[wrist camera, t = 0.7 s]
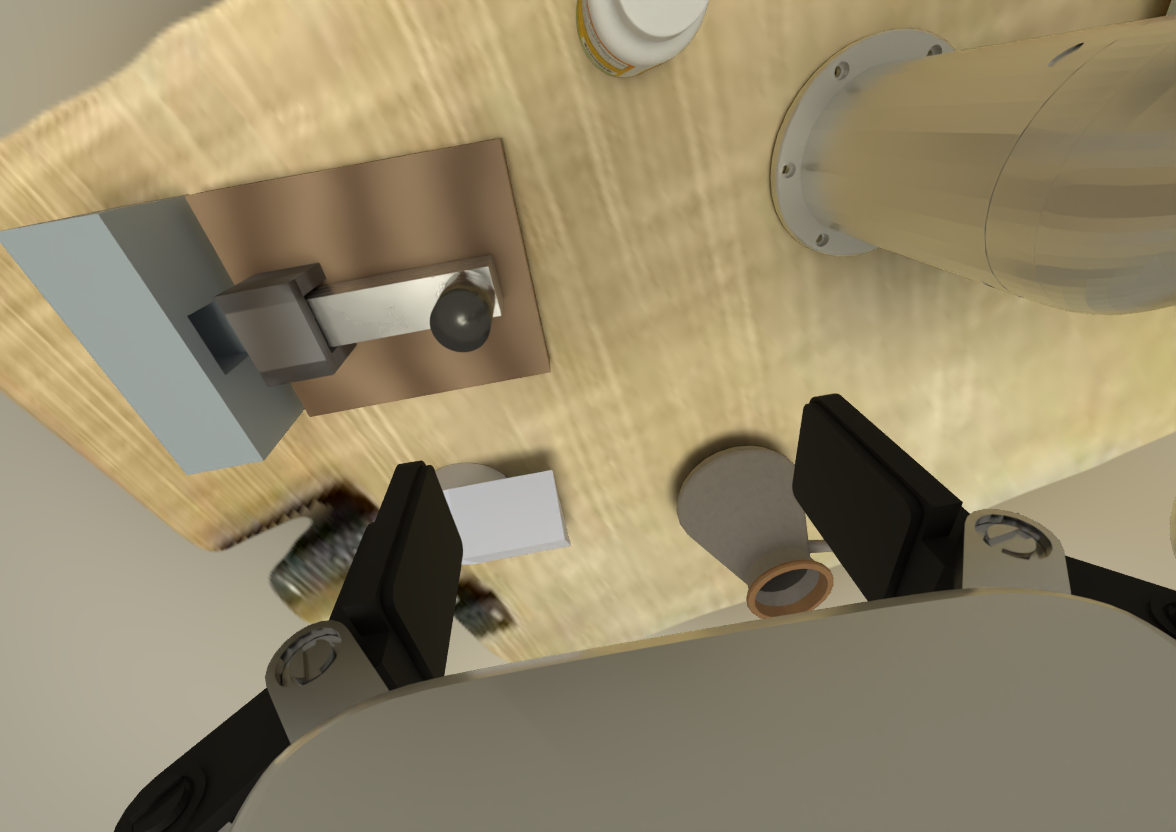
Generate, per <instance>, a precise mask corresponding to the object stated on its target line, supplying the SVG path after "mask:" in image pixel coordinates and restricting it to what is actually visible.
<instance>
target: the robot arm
mask: <svg viewBox="0 0 1176 832" xmlns="http://www.w3.org/2000/svg"><path fill="white" fill-rule="evenodd" d="M835 69H837V74H836V75H835V73H834V72H835ZM784 166H786V170H785V172H784V173H782V171H783V167H784ZM770 178H771V191H772V198H773V202H774V205H775V209H776V213H777V215H778V217H779V219H780V220H781V222H782V224H783V226H784V228H785V229H786V230H787V231H788V232H789V233H790V235H791V236H792V237H793V238H794V239H795V240H797V241H798V242H800V243H801V244H803V245H804V246H805V247H807V248H810V249H812V250H814V251H816V252H819V253H823V254H827V255H831V256H853V255H858V254H864V253H867V252H870V251H872V250H875V249H878V248H883V249H886V250H889V251H891V252H894V253H897V254H900V255H903V256H906V257H908V258H911V259H914V260H917V261H920V262H923V263H925V264H928V265H931V266H934V267H937V268H940V269H942V270H945V271H948V272H951V273H954V274H957V275H959V276H962V277H965V278H968V279H971V280H974V281H976V282H979V283H982V284H985V285H988V286H991V287H994V288H997V289H999V290H1002V291H1005V292H1008V293H1010V294H1013V295H1016V296H1019V297H1023V298H1026V299H1029V300H1032V301H1035V302H1038V303H1041V304H1044V305H1047V306H1050V307H1054V308H1058V309H1061V310H1065V311H1070V312H1076V313H1082V314H1092V315H1122V314H1131V313H1139V312H1146V311H1152V310H1157V309H1161V308H1166V307H1170V306H1174V305H1176V14H1173V15H1168V16H1162V17H1156V18H1150V19H1144V20H1138V21H1132V22H1126V23H1120V24H1114V25H1108V26H1103V27H1097V28H1091V29H1085V30H1079V31H1073V32H1067V33H1061V34H1055V35H1049V36H1044V37H1038V38H1032V39H1026V40H1020V41H1014V42H1008V43H1002V44H996V45H990V46H985V47H979V48H973V49H967V50H961V51H956V50H955V49H954V48H953V47H952V46H951V45H950V44H949V43H948V42H947V41H946V40H944V39H942V38H941V37H939V36H937V35H935V34H934V33H932V32H929V31H924V30H919V29H915V28H904V29H891V30H887V31H883V32H879V33H875V34H872V35H869V36H867V37H865V38H862V39H860V40H857V41H855V42H853V43H851V44H850V45H848V46H847V47H845V48H844V49H842V50H841V51H839V52H837V53H836V54H834V55H833V56H832V57H831V58H830V59H829V60H827V61H826V62H825V63H824V64H823V65H822V66H821V67H820V68H819V69H818V70H817V71H816V72H815V73H814V74H813V75H812V76H811V78H810V79H809V80H808V81H807V83H806V84H805V85H804V86H803V88H802V89H801V90H800V91H799V93H798V95H797V96H796V98H795V100H794V101H793V103H792V105H791V106H790V108H789V110H788V111H787V114H786V116H785V118H784V121H783V123H782V126H781V128H780V130H779V133H778V136H777V140H776V144H775V148H774V151H773V155H772V165H771V176H770ZM818 236H819V237H818ZM817 238H818V239H817ZM792 491H793V494H794V497H795V499H796V500H797V502H798V503H799V505H800V506H801V507H802V509H803V510H804V512H805V513H806V514H807V516H808V517H809V519H810V520H811V522H812V523H813V524H814V526H815V527H816V529H817V530H818V531H819V533H820V534H821V536H822V537H823V539H824V540H825V541H826V543H827V544H828V546H829V547H830V548H831V550H832V551H833V553H834V554H835V555H836V557H837V558H838V560H839V561H840V563H841V564H842V565H843V567H844V568H845V570H846V571H847V572H848V574H849V575H850V577H851V578H852V580H853V581H854V582H855V584H856V585H857V587H858V588H859V589H860V591H861V592H862V594H863V595H864V596H865V598H866V599H867V602H861V603H855V604H849V605H843V606H837V607H832V608H825V609H819V610H813V611H807V612H801V613H795V614H789V615H783V616H777V617H771V618H765V619H759V620H753V621H747V622H742V623H736V624H730V625H724V626H719V627H713V628H707V629H701V630H695V631H689V632H684V633H678V634H672V635H666V636H661V637H655V638H649V639H644V640H637V641H632V642H626V643H620V644H615V645H609V646H603V647H598V648H592V649H587V650H581V651H575V652H570V653H564V654H559V655H553V656H547V657H542V658H536V659H530V660H525V661H519V662H514V663H509V664H504V665H499V666H494V667H488V668H483V669H478V670H473V671H468V672H463V673H458V674H453V675H447V676H444V674H445V667H446V661H447V654H448V648H449V642H450V635H451V628H452V622H453V616H454V609H455V603H456V597H457V590H458V584H459V577H460V571H461V564H462V558H463V544H462V540H461V537H460V535H459V532H458V529H457V527H456V524H455V522H454V519H453V516H452V514H451V511H450V509H449V506H448V503H447V501H446V498H445V496H444V493H443V490H442V488H441V485H440V483H439V480H438V477H437V475H436V472H435V470H434V468H433V466H432V465H427V466H426V465H425V463H424V462H423V461H415V462H409V463H403V464H399V465H397V467H396V469H395V471H394V474H393V477H392V479H391V482H390V484H389V487H388V489H387V492H386V495H385V497H384V500H383V502H382V505H381V507H380V510H379V513H378V515H377V518H376V520H375V522H372V523H370V524H369V525H368V526H367V528H366V530H365V532H364V534H363V537H362V539H361V542H360V544H359V547H358V549H357V552H356V554H355V557H354V559H353V562H352V564H351V567H350V569H349V572H348V574H347V576H346V579H345V581H344V584H343V586H342V589H341V591H340V594H339V596H338V599H337V601H336V604H335V606H334V609H333V611H332V614H331V616H330V618H329V620H328V621H320V622H317V623H314V624H311V625H308V626H307V627H305V628H303V629H301V630H300V631H298V632H296V633H295V634H294V635H293V636H291V637H290V638H289V639H288V640H286V641H285V642H284V643H283V644H282V646H281V647H280V648H279V649H278V650H277V652H276V653H275V654H274V656H273V657H272V659H271V661H270V663H269V665H268V667H267V671H266V675H265V680H266V687H267V688H266V689H264V690H263V691H262V692H261V693H259V694H258V695H257V696H256V697H255V698H253V699H252V700H251V701H250V702H248V703H247V704H246V705H244V706H243V707H242V708H241V709H240V710H238V711H237V712H236V713H235V714H233V715H232V716H231V717H230V718H228V719H227V720H226V721H225V722H223V723H222V724H221V725H220V726H218V727H217V728H216V729H215V730H213V731H212V732H211V733H210V734H208V735H207V736H206V737H205V738H203V739H202V740H201V741H200V742H198V743H197V744H196V745H195V746H194V747H192V748H191V749H190V750H189V751H187V752H186V753H185V754H184V755H182V756H181V757H180V758H179V759H177V760H176V761H175V762H174V763H172V764H171V765H170V766H169V767H167V768H166V769H165V770H164V771H163V772H161V773H160V774H159V775H158V776H156V777H155V778H154V779H153V780H152V781H151V782H150V783H149V784H148V785H147V786H145V787H144V788H143V789H142V790H141V791H140V792H139V794H138V795H137V796H136V797H135V798H134V800H133V801H132V802H131V803H130V805H129V806H128V807H127V808H126V810H125V812H124V813H123V815H122V817H121V818H120V820H119V822H118V823H117V825H116V827H115V830H114V832H1176V591H1175V590H1172V589H1168V588H1165V587H1162V586H1159V585H1156V584H1153V583H1150V582H1146V581H1144V580H1140V579H1137V578H1134V577H1131V576H1128V575H1124V574H1122V573H1118V572H1115V571H1112V570H1109V569H1106V568H1103V567H1099V566H1096V565H1093V564H1090V563H1087V562H1084V561H1080V560H1077V559H1074V558H1071V557H1068V556H1065V553H1064V549H1063V547H1062V545H1061V543H1060V540H1059V539H1058V538H1057V537H1056V536H1055V535H1054V534H1053V533H1052V532H1051V531H1050V530H1048V529H1047V528H1045V527H1044V526H1043V525H1041V524H1040V523H1037V522H1036V521H1034V520H1032V519H1030V518H1028V517H1026V516H1023V515H1020V514H1017V513H1014V512H1010V511H1005V510H999V509H982V510H978V511H974V512H973V513H971V514H970V513H968V512H967V511H966V510H965V509H964V508H963V507H962V503H963V502H962V501H961V500H960V499H958V498H957V497H956V496H955V495H954V494H953V493H952V492H950V491H949V490H948V489H947V488H946V487H945V486H944V485H942V484H941V483H940V482H939V481H938V480H937V479H936V478H934V477H933V476H932V475H931V474H930V473H929V472H928V471H926V470H925V469H924V468H923V467H922V466H921V465H920V464H918V463H917V462H916V461H915V460H914V459H913V458H912V457H910V456H909V455H908V454H907V453H906V452H905V451H904V450H902V449H901V448H900V447H899V446H898V445H897V444H896V443H894V442H893V441H892V440H891V439H890V438H889V437H888V436H886V435H885V434H884V433H883V432H882V431H881V430H880V429H878V428H877V427H876V426H875V425H874V424H873V423H872V422H870V421H869V420H868V419H867V418H866V417H865V416H864V415H863V414H861V413H860V412H859V411H858V410H857V409H856V408H855V407H853V406H852V405H851V404H850V403H849V402H848V401H847V400H845V399H844V398H843V397H842V396H841V395H839V394H829V395H823V396H817V397H813V398H812V399H811V400H810V402H809V404H806V405H805V406H804V409H803V414H802V421H801V428H800V434H799V441H798V448H797V455H796V461H795V468H794V475H793V481H792ZM1170 540H1171V545H1172V549H1173V552H1174V555H1175V557H1176V498H1175V500H1174V503H1173V508H1172V512H1171V518H1170Z"/></svg>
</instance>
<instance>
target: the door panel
mask: <svg viewBox="0 0 1176 832" xmlns="http://www.w3.org/2000/svg"><path fill="white" fill-rule="evenodd" d="M185 198H186V200H187V202H188V203H189V205H190V207H191V209H192V210H193V212H194V214H195V216H196V217H197V219H198V221H199V223H200V224H201V226H202V228H203V230H204V231H205V233H206V235H207V237H208V239H209V240H210V242H211V244H212V246H213V247H214V249H215V251H216V253H217V254H218V256H219V258H220V260H221V261H222V263H223V265H224V267H225V268H226V270H227V272H228V274H229V276H230V277H231V279H232V281H233V283H234V284H235V286H233V287H231V288H229V289H227V290H225V291H224V292H222V293H220V294H218V295H216V296H215V297H214V298H215V300H216V301H217V303H218V305H219V306H220V308H221V310H222V311H223V313H224V315H225V316H226V318H227V320H228V321H229V323H230V325H231V326H232V328H233V330H234V331H235V333H236V335H237V336H238V338H239V340H240V341H241V343H242V345H243V346H244V348H245V350H246V351H247V353H248V355H249V356H250V358H251V360H252V361H253V363H254V365H255V366H256V368H257V370H258V371H259V373H260V375H261V376H262V378H263V380H264V381H265V383H266V385H267V386H268V387H271V386H277V385H282V384H287V383H291V385H292V387H293V388H294V390H295V392H296V394H297V395H298V397H299V399H300V401H301V402H302V404H303V406H304V408H305V409H306V411H307V413H308V415H309V416H310V417H312V416H317V415H323V414H328V413H334V412H339V411H344V410H350V409H355V408H360V407H366V406H371V405H377V404H382V403H387V402H393V401H398V400H403V399H409V398H414V397H419V396H425V395H430V394H436V393H441V392H446V391H452V390H457V389H462V388H468V387H473V386H479V385H484V384H489V383H495V382H500V381H505V380H511V379H516V378H522V377H527V376H532V375H538V374H543V373H548V372H551V370H550V360H549V355H548V351H547V346H546V342H545V337H544V332H543V328H542V323H541V319H540V314H539V309H538V305H537V300H536V296H535V291H534V286H533V282H532V277H531V273H530V268H529V263H528V259H527V254H526V250H525V245H524V241H523V236H522V231H521V227H520V222H519V218H518V213H517V208H516V204H515V199H514V195H513V190H512V185H511V181H510V176H509V172H508V167H507V162H506V158H505V153H504V149H503V144H502V140H501V138H498V139H492V140H487V141H481V142H476V143H470V144H465V145H459V146H454V147H448V148H443V149H437V150H432V151H426V152H421V153H415V154H410V155H404V156H399V157H393V158H388V159H382V160H377V161H371V162H366V163H360V164H355V165H349V166H344V167H338V168H333V169H327V170H322V171H316V172H311V173H305V174H300V175H294V176H289V177H283V178H278V179H272V180H267V181H261V182H256V183H250V184H245V185H239V186H234V187H228V188H223V189H217V190H212V191H206V192H201V193H196V194H192V195H187V196H185ZM490 254H492V257H493V260H494V264H495V268H496V272H497V276H498V280H499V284H500V288H501V292H502V295H503V299H504V301H503V308H502V315H501V316H497V317H493V318H492V324H491V329H490V334H489V337H488V339H487V341H486V342H485V343H484V344H483V345H482V346H481V347H480V348H478V349H476V350H474V351H470V352H455V351H452V350H449V349H447V348H445V347H444V346H442V345H441V344H440V343H439V342H438V341H437V340H436V339H435V337H434V336H433V334H432V331H431V329H427V330H421V331H416V332H411V333H405V334H400V335H394V336H389V337H384V338H378V339H373V340H367V341H362V342H356V343H351V344H346V345H340V346H335V347H328V345H327V343H326V341H325V339H324V337H323V335H322V333H321V331H320V329H319V327H318V325H317V323H316V321H315V319H314V317H313V315H312V313H311V311H310V309H309V307H308V305H307V303H306V301H305V299H304V295H305V294H307V293H308V292H309V291H311V290H312V289H313V288H315V287H316V286H321V285H327V284H332V283H337V282H343V281H348V280H354V279H359V278H365V277H370V276H376V275H381V274H386V273H392V272H397V271H403V270H408V269H414V268H419V267H425V266H430V265H435V264H441V263H446V262H452V261H457V260H463V259H468V258H474V257H479V256H484V255H490Z"/></svg>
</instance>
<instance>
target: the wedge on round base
mask: <svg viewBox="0 0 1176 832" xmlns="http://www.w3.org/2000/svg"><path fill="white" fill-rule="evenodd" d="M435 472H436V475H437V477H438V480H439V483H440V485H441V488H442V490H443V493H444V496H445V498H446V501H447V503H448V506H449V509H450V511H451V514H452V516H453V519H454V522H455V524H456V527H457V529H458V532H459V535H460V537H461V540H462V544H463V558H462V564H464V565H466V564H477V563H483V562H488V561H494V560H499V559H504V558H509V557H515V556H520V555H525V554H531V553H536V552H541V551H547V550H552V549H557V548H562V547H568V546H571V544H570V540H569V536H568V532H567V527H566V523H565V519H564V515H563V511H562V507H561V503H560V499H559V495H558V491H557V487H556V483H555V479H554V475H553V471H552V470H549V471H543V472H538V473H533V474H527V475H522V476H517V477H511V478H507V477H506V476H504V475H503V474H502V473H500V472H499V471H497V470H495V469H493V468H491V467H488V466H485V465H481V464H475V463H458V464H452V465H448V466H445V467H442V468H440V469H438V470H436V471H435Z"/></svg>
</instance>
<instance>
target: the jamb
mask: <svg viewBox="0 0 1176 832" xmlns="http://www.w3.org/2000/svg"><path fill="white" fill-rule="evenodd" d="M185 196H187V195H184V196H178V197H173V198H167V199H162V200H156V201H151V202H145V203H140V204H134V205H129V206H123V207H118V208H112V209H107V210H102V211H97V212H92V213H87V214H82V215H77V216H72V217H67V218H62V219H58V220H53V221H48V222H43V223H38V224H33V225H28V226H23V227H18V228H13V229H8V230H3V231H0V243H1V244H2V245H3V247H4V248H5V249H6V250H7V252H8V253H9V254H10V255H11V257H12V258H13V259H14V260H15V262H16V263H17V264H18V265H19V267H20V268H21V269H22V270H23V271H24V273H25V274H26V275H27V276H28V278H29V279H30V280H31V281H32V283H33V284H34V285H35V286H36V288H37V289H38V290H39V291H40V293H41V294H42V295H43V296H44V298H45V299H46V300H47V301H48V303H49V304H50V305H51V306H52V308H53V309H54V310H55V311H56V313H57V314H58V315H59V316H60V318H61V319H62V320H63V321H64V323H65V324H66V325H67V326H68V328H69V329H70V330H71V331H72V333H73V334H74V335H75V336H76V338H77V339H78V340H79V341H80V343H81V344H82V345H83V346H84V348H85V349H86V350H87V351H88V352H89V354H90V355H91V356H92V357H93V359H94V360H95V361H96V362H97V364H98V365H99V366H100V367H101V369H102V370H103V371H104V372H105V374H106V375H107V376H108V377H109V379H110V380H111V381H112V382H113V384H114V385H115V386H116V387H117V389H118V390H119V391H120V392H121V394H122V395H123V396H124V397H125V399H126V400H127V401H128V402H129V404H130V405H131V406H132V407H133V409H134V410H135V411H136V412H137V414H138V415H139V416H140V417H141V419H142V420H143V421H144V422H145V424H146V425H147V426H148V427H149V429H150V430H151V431H152V432H153V433H154V435H155V436H156V437H157V438H158V440H159V441H160V442H161V443H162V445H163V446H164V447H165V448H166V450H167V451H168V452H169V453H170V455H171V456H172V457H173V458H174V460H175V461H176V462H177V463H178V465H179V466H180V467H181V468H182V470H183V471H184V472H185V473H186V475H190V474H196V473H201V472H206V471H212V470H217V469H223V468H228V467H233V466H239V465H244V464H249V463H255V462H260V461H264V460H265V459H266V457H267V456H268V455H269V454H270V452H271V451H272V450H273V448H274V447H275V446H276V445H277V443H278V442H279V441H280V440H281V438H282V437H283V436H284V434H285V433H286V432H287V431H288V429H289V428H290V427H291V426H292V424H293V423H294V422H295V420H296V419H297V418H298V417H299V415H300V414H301V413H302V412H303V410H304V409H305V408H304V406H303V404H302V402H301V401H300V399H299V397H298V395H297V394H296V392H295V390H294V388H293V387H292V385H291V383H287V384H282V385H277V386H271V387H268V386H267V385H266V383H265V381H264V380H263V378H262V376H261V375H260V373H259V371H258V370H257V368H256V366H255V365H254V363H253V361H252V360H251V358H250V356H249V355H248V353H247V351H246V350H245V348H244V346H243V345H242V343H241V341H240V340H239V338H238V336H237V335H236V333H235V331H234V330H233V328H232V326H231V325H230V323H229V321H228V320H227V318H226V316H225V315H224V313H223V311H222V310H221V308H220V306H219V305H218V303H217V301H216V300H215V298H214V297H215V296H216V295H218V294H220V293H222V292H224V291H225V290H227V289H229V288H231V287H233V286H235V284H234V283H233V281H232V279H231V277H230V276H229V274H228V272H227V270H226V268H225V267H224V265H223V263H222V261H221V260H220V258H219V256H218V254H217V253H216V251H215V249H214V247H213V246H212V244H211V242H210V240H209V239H208V237H207V235H206V233H205V231H204V230H203V228H202V226H201V224H200V223H199V221H198V219H197V217H196V216H195V214H194V212H193V210H192V209H191V207H190V205H189V203H188V202H187V200H186V198H185Z"/></svg>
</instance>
